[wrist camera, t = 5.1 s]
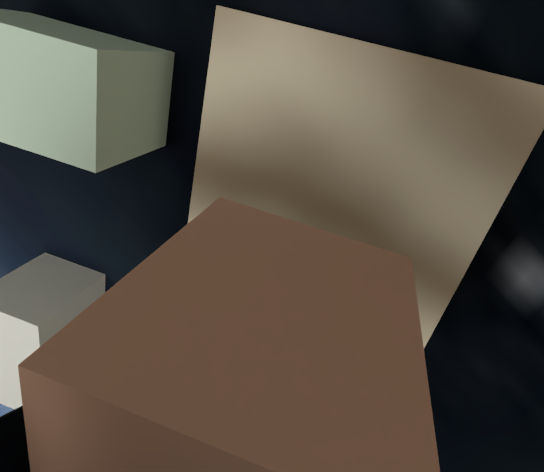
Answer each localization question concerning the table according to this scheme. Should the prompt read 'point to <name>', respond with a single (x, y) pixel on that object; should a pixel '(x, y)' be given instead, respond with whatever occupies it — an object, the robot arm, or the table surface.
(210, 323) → the terracotta brick
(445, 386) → the table surface
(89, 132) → the sage brick
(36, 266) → the cream brick
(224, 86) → the birch board
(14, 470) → the robot arm
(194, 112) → the table surface
